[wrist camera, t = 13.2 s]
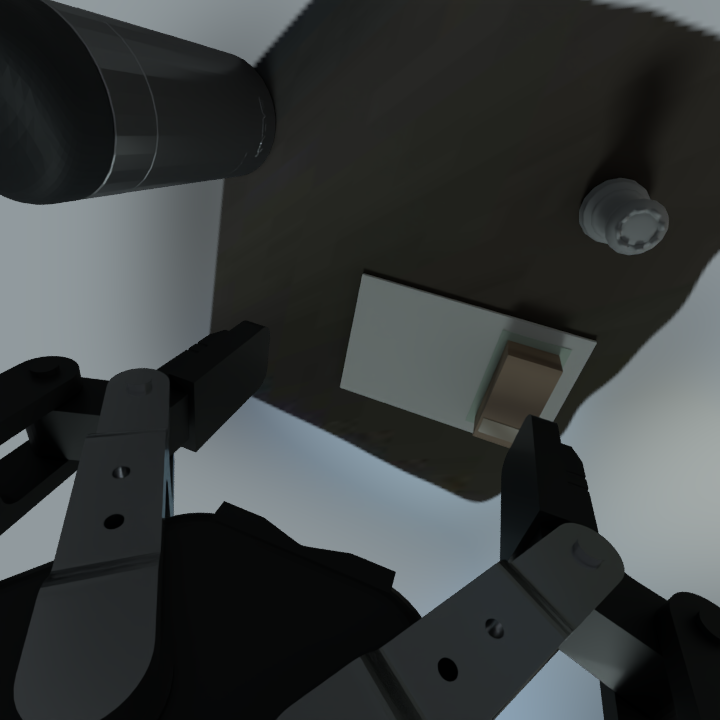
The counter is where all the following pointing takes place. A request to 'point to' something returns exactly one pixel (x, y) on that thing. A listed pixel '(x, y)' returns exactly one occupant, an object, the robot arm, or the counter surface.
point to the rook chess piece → (623, 216)
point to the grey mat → (443, 352)
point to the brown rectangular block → (516, 392)
